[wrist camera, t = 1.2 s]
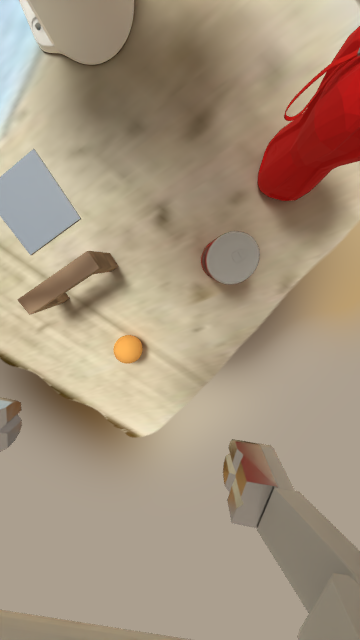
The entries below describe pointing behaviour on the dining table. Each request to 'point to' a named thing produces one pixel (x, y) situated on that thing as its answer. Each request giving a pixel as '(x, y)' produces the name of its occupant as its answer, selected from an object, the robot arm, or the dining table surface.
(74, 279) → the wooden staple shape
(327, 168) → the water bottle
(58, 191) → the flat gray rectangular panel
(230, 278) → the canned food
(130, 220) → the dining table surface
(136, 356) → the ball
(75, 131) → the dining table surface
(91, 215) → the dining table surface
